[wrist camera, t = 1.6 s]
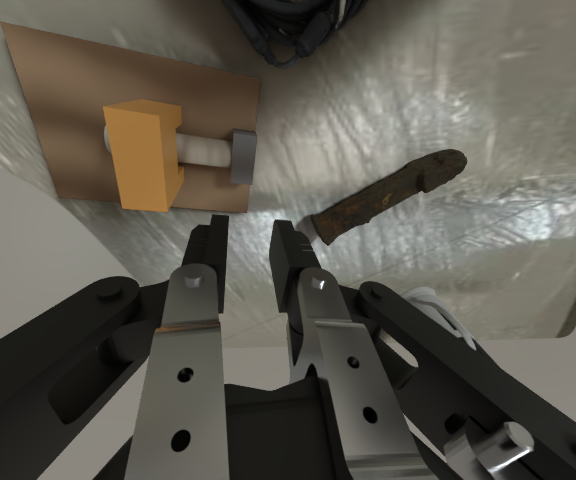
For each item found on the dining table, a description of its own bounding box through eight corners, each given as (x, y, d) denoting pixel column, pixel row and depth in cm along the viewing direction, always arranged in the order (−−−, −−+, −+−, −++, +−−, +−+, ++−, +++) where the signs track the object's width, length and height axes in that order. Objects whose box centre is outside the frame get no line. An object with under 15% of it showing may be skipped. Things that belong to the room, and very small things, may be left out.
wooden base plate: (16, 25, 18) (-36, 12, 14) (259, 78, 22) (263, 78, 19) (67, 191, 24) (40, 209, 21) (246, 207, 29) (247, 224, 25)
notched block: (142, 99, 20) (102, 106, 14) (181, 106, 21) (159, 115, 15) (151, 176, 23) (122, 208, 18) (184, 180, 24) (167, 212, 18)
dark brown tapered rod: (317, 234, 33) (328, 254, 29) (306, 212, 31) (316, 231, 27) (448, 168, 31) (478, 180, 27) (447, 139, 29) (479, 148, 25)
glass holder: (394, 325, 48) (449, 409, 36) (382, 280, 40) (446, 367, 28) (436, 307, 47) (506, 387, 35) (432, 258, 40) (521, 338, 27)
